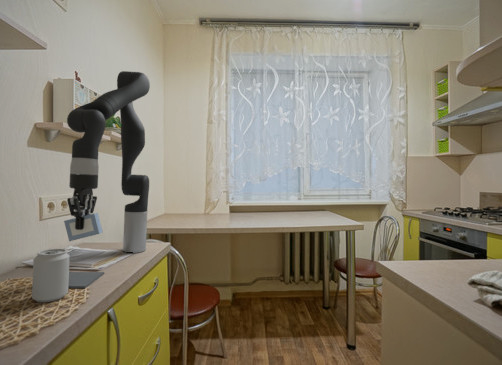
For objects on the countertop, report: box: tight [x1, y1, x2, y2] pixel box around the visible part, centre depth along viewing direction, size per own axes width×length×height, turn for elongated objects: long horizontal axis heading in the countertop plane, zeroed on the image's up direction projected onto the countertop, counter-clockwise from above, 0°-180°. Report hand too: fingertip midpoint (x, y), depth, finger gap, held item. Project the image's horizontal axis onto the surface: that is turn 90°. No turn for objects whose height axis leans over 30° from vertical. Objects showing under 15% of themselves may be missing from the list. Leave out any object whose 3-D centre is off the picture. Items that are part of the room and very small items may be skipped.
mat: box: [68, 271, 105, 289], centre depth 80 cm, size 12×14×1 cm
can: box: [31, 248, 71, 303], centre depth 69 cm, size 8×8×12 cm
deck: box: [63, 212, 103, 242], centre depth 83 cm, size 2×9×6 cm, turn 96°
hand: (81, 228), depth 83 cm, fingers closed on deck, 2 cm apart
